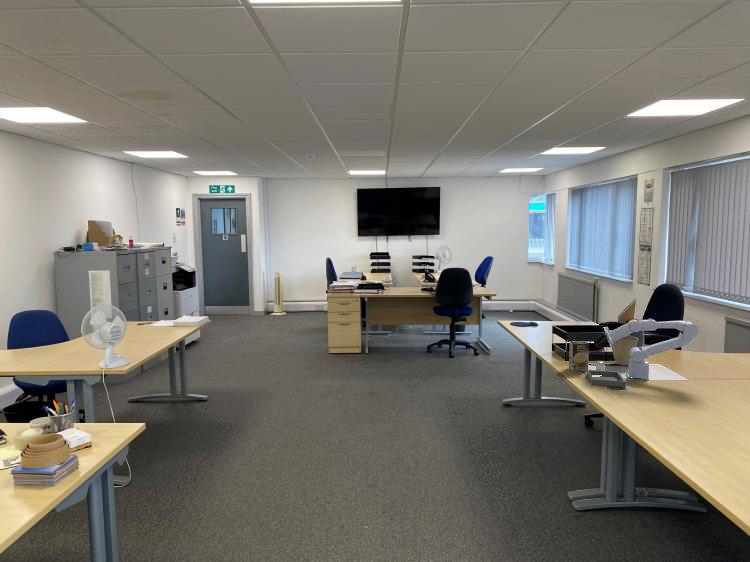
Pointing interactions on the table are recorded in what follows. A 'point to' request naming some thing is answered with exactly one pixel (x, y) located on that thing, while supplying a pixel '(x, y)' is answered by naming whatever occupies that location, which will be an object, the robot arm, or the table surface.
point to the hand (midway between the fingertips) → (595, 345)
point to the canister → (639, 337)
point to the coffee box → (578, 355)
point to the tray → (606, 378)
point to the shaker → (600, 365)
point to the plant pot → (623, 349)
